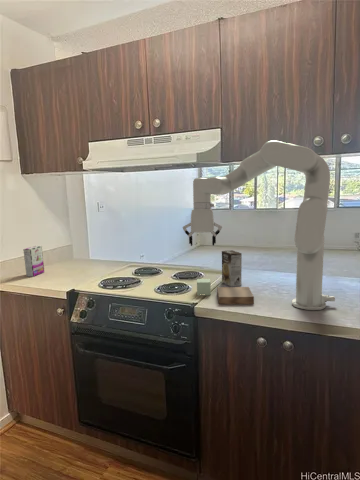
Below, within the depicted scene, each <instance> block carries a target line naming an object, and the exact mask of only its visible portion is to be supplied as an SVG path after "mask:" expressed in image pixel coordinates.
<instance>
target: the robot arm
mask: <svg viewBox="0 0 360 480" xmlns="http://www.w3.org/2000/svg"><path fill="white" fill-rule="evenodd" d="M275 167H281V168H283V169H284V168H285V169H288V170H293V171H297V172H300V173H303V174H304V176H305V184H304V192H303V200H302V201H301V203H300V204H299V207H298V210H297V217H296V223H295V224H296V225H295V231H294V245H295V247H296V248H297V250H296V272H295V273H296V275H295V277H296V278H295V282H296V283H295V285H296V286H295V298H293V299H292V300H291V305H293V307H295V308H297V309H300V310H305V311H306V310H307V311H321V310H323V309H325V308H326V307H327V302H335V300H336V297H335V296H330V295H329V294H326V295H325V294H324V293H323V276H324V275H323V274H324V252H325V251H324V250H325V231H326V221H327V215H328V211H329V210H328V208H329V207H328V202H329V196H330V195H329V194H330V185H331V171H330V170H331V169H330V168H329V165H328V163H327V161H326V160H325V159H324V158H323V157H322V156H320V155H319V154H318V153H316V152H315V151H314V150H313V149H312V148H309V147H307V146H302V145H297V144H293V143H289V142H287V143H286V142H283V141H279V140H276V139H275V140H269V141H266V142H265V143H264V144H263V145H262V146H261V148H260V150H259V151H258V150H257V152H254V153H253V154H251V155H249V156H248V157H246V158H244V159H243V160H242V161H241V162H240V164H239V166H237V168H235V169H234V170H232V171H231V172H228V174H226V175H224V176H212V177H196V178H194V179H193V181H192V182H193V183H192V191H193V192H192V194H193V195H192V196H193V197H192V198H193V203H192V204H193V206H192V207H193V208H192V209H191V214H190V222H189V223H187V224H185V225H183V226H182V229H183V232H184V233H185V234H186V235H187V236H188V242H189V243H188V244H190V246H191V247H192V246H193V234H194V233H196V234H197V233H211V235H212V236H211V237H212V239H211V240H212V241H211V242H212V243H211V245H212V246H215V244H216V243H217V239H216V237H217V235H219V233H221V230H222V228H223V226H222V225H220V224H218V223H216V222H214V212H213V209H211V208H213V207H215V203H212V202H211V198H212V197H211V195H212V196H213V195H215V196H218V195H227V194H228V193H231V192H233V191H234V190H236V189H239V188H240V187H241V186H242V187H243V186H244V185H245V184H248V183H249V182H251V181H252V180H253V179H255V178H257V177H259V176H260V175H262V174H264V173H267V171H270V170H272V169H273V168H275ZM215 227H216V228H217V230H216V231H215ZM188 228H190V231H188Z"/></svg>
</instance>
